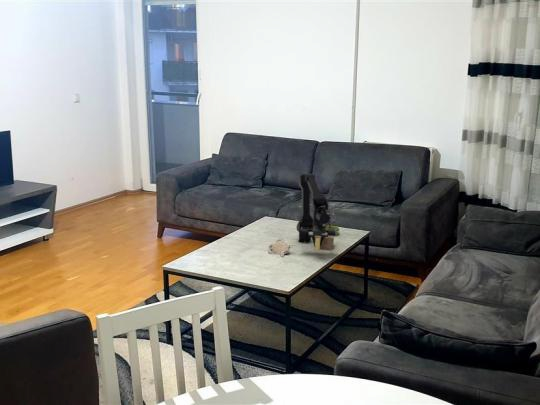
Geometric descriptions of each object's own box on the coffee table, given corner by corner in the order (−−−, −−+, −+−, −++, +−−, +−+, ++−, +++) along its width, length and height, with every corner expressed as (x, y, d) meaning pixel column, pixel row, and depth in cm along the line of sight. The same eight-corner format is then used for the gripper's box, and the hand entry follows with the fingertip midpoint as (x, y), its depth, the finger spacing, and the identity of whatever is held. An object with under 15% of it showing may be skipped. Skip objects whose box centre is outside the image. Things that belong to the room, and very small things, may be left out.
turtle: (294, 258, 336) (297, 240, 336) (289, 257, 327) (292, 239, 328) (267, 254, 341) (270, 236, 342) (262, 253, 332) (265, 235, 333)
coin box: (314, 249, 341) (315, 237, 339) (316, 243, 350) (316, 231, 349) (332, 249, 340) (333, 237, 338) (333, 244, 349) (333, 232, 347)
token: (315, 249, 330) (315, 240, 329) (315, 246, 335) (315, 238, 333) (319, 249, 329) (319, 241, 328) (320, 246, 334) (320, 238, 333)
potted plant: (313, 234, 367) (313, 210, 363) (322, 229, 377) (322, 205, 374) (334, 238, 360) (335, 213, 356) (342, 232, 371) (343, 208, 367)
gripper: (299, 222, 321) (299, 250, 325) (335, 223, 319) (334, 252, 323) (301, 216, 332) (301, 243, 336) (336, 217, 329) (335, 245, 333)
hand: (317, 246), depth 332 cm, fingers closed on token, 2 cm apart
